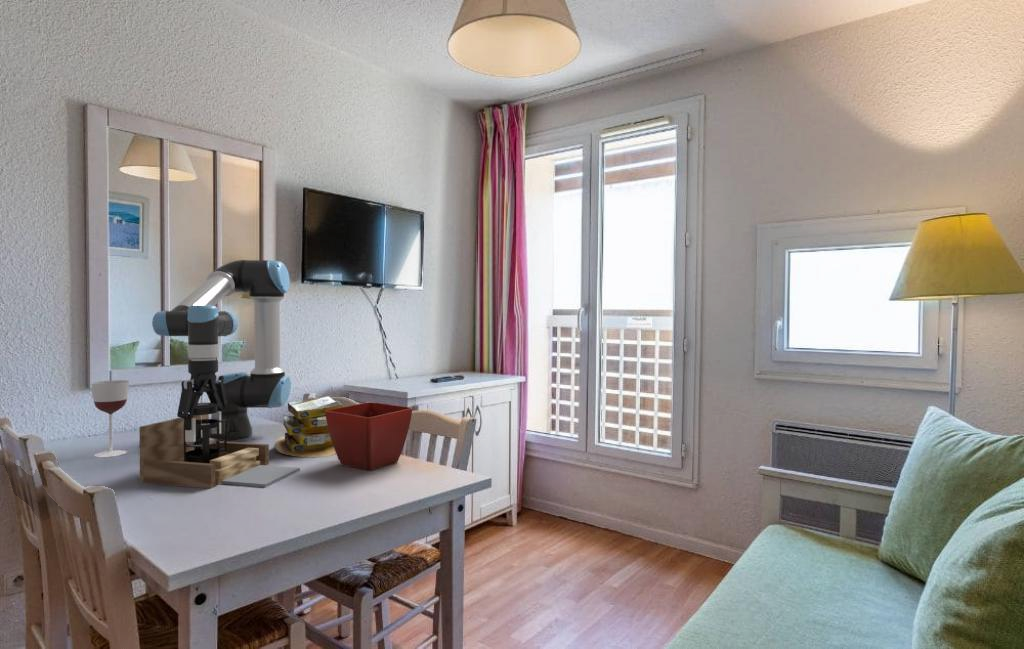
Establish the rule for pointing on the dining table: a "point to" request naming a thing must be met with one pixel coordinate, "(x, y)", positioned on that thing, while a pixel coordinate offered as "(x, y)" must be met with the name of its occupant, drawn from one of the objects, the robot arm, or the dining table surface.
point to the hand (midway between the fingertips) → (203, 437)
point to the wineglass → (110, 405)
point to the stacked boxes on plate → (307, 429)
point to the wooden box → (181, 455)
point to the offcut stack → (234, 463)
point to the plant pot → (368, 433)
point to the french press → (205, 436)
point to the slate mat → (261, 476)
